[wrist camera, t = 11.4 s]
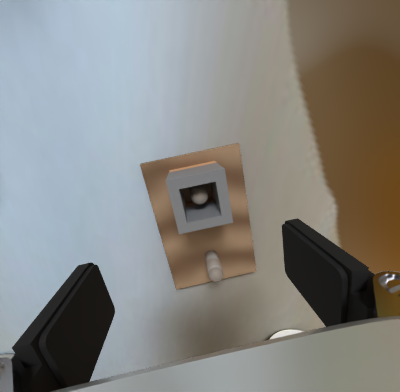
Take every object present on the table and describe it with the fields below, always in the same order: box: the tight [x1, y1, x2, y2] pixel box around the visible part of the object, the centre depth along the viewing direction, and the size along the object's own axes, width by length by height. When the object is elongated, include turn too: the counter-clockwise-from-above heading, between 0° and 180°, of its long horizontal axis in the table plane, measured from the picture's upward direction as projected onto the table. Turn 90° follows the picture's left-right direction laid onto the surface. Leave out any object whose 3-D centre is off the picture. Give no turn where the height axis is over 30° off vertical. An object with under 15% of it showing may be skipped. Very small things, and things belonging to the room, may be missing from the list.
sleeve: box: [166, 161, 233, 234], centre depth 24 cm, size 6×6×6 cm
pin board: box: [140, 143, 256, 289], centre depth 27 cm, size 20×13×6 cm, turn 11°
